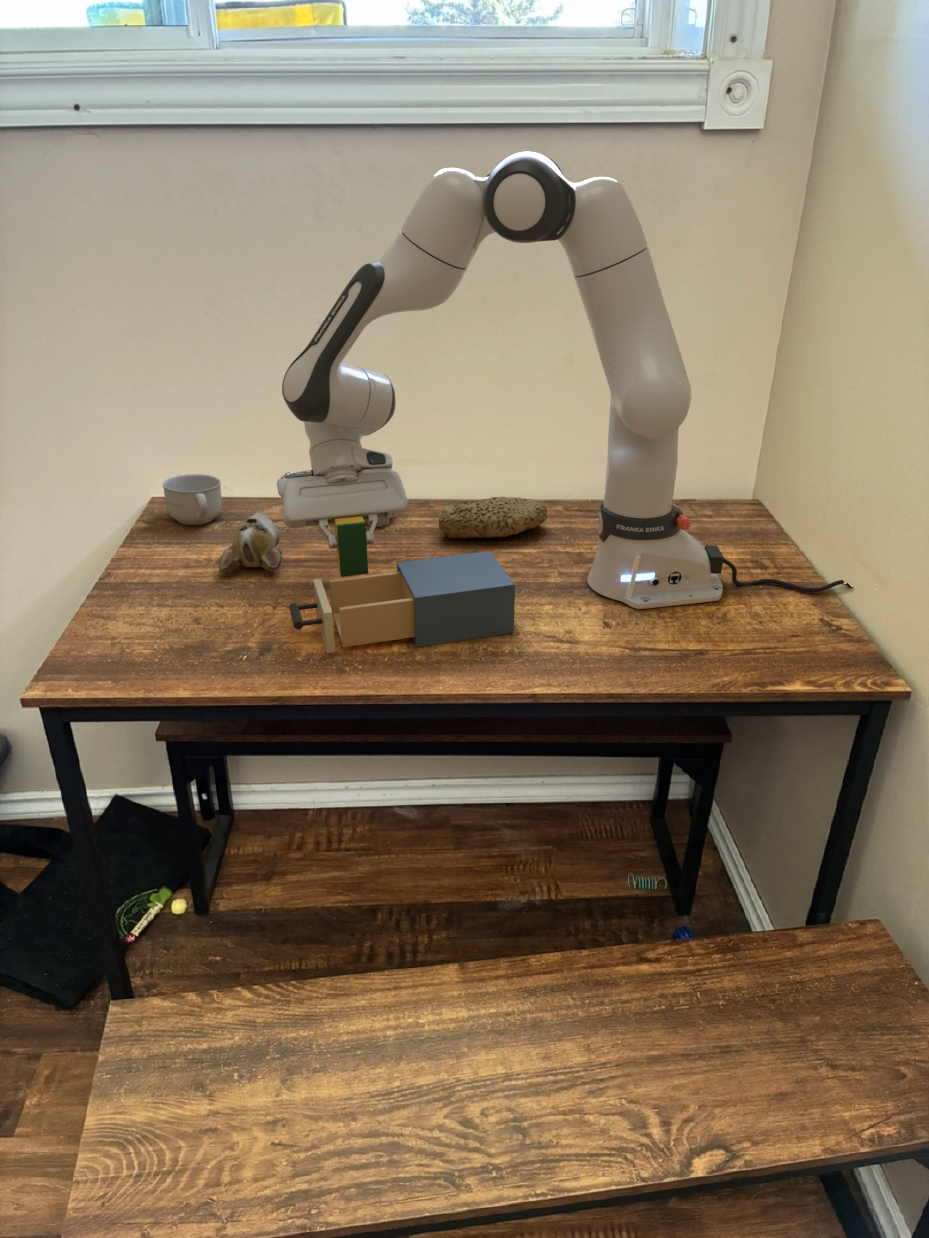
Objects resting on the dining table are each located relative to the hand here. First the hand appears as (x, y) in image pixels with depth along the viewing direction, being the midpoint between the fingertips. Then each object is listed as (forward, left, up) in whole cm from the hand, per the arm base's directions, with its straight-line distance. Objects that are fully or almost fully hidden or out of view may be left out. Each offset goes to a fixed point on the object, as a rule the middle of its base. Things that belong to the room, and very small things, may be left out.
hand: (352, 545), depth 142 cm
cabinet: (-16, +9, -9) cm, 21 cm away
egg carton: (+1, -32, -9) cm, 33 cm away
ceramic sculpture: (+19, -12, -9) cm, 24 cm away
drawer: (-1, +14, -8) cm, 16 cm away
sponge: (-24, -25, -9) cm, 36 cm away
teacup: (+34, -31, -9) cm, 47 cm away
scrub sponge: (0, -1, -5) cm, 5 cm away
